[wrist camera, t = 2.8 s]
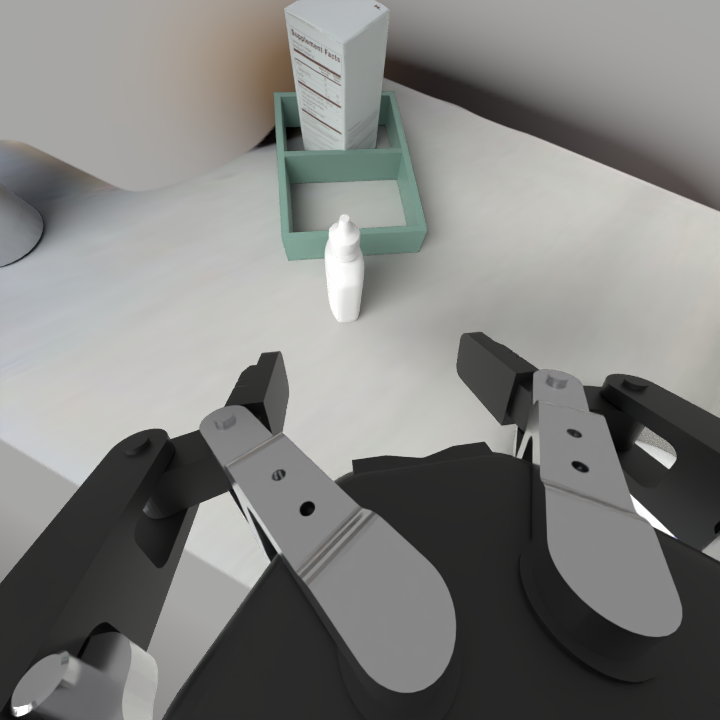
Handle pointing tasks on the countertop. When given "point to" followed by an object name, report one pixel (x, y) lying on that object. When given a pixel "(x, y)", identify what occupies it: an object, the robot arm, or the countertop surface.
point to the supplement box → (338, 70)
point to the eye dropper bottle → (344, 269)
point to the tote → (348, 168)
